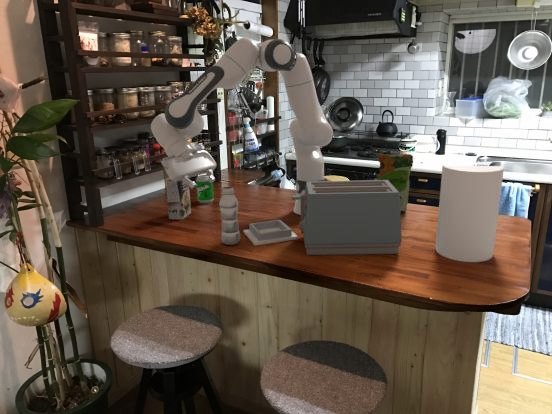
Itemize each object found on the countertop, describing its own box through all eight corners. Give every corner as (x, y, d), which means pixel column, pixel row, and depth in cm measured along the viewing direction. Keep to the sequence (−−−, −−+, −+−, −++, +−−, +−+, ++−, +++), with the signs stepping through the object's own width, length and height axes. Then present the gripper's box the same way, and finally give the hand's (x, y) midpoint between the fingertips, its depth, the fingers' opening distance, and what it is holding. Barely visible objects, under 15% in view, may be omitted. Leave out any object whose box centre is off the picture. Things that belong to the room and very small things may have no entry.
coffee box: (183, 219, 185) (180, 181, 180) (168, 219, 186) (164, 180, 182) (191, 213, 193) (188, 175, 189) (177, 212, 195) (174, 175, 190)
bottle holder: (284, 226, 174) (284, 218, 173) (298, 239, 161) (297, 229, 160) (243, 232, 169) (243, 223, 168) (254, 245, 156) (254, 236, 155)
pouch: (412, 213, 185) (416, 152, 178) (389, 218, 180) (392, 155, 173) (394, 206, 195) (397, 148, 187) (371, 211, 190) (374, 151, 182)
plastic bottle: (233, 248, 154) (230, 191, 148) (217, 244, 157) (213, 188, 152) (244, 242, 159) (241, 186, 153) (229, 239, 163) (225, 184, 157)
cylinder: (500, 263, 137) (511, 172, 129) (439, 260, 140) (447, 171, 132) (485, 242, 153) (494, 160, 145) (431, 240, 156) (438, 160, 148)
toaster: (292, 235, 164) (291, 180, 159) (388, 234, 164) (391, 178, 158) (292, 256, 146) (291, 195, 140) (401, 255, 145) (405, 193, 139)
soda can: (205, 198, 215) (203, 173, 211) (217, 200, 210) (215, 175, 207) (194, 202, 209) (192, 176, 205) (206, 204, 205) (204, 178, 201)
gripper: (162, 152, 151) (185, 185, 149) (205, 144, 167) (227, 172, 165) (155, 164, 155) (177, 196, 153) (198, 154, 171) (219, 183, 168)
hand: (203, 184), depth 159 cm, fingers open, 8 cm apart
